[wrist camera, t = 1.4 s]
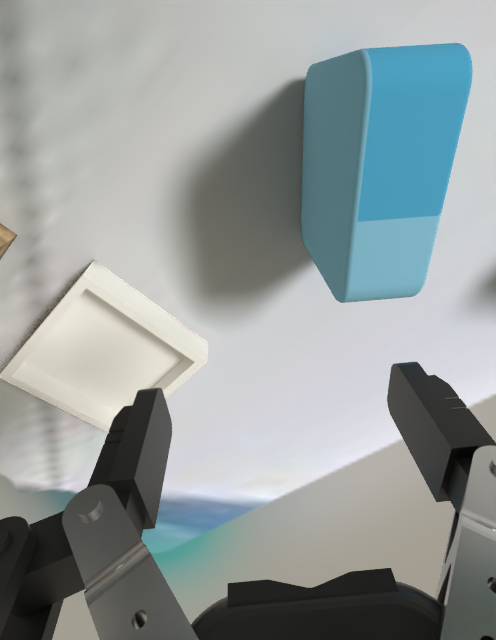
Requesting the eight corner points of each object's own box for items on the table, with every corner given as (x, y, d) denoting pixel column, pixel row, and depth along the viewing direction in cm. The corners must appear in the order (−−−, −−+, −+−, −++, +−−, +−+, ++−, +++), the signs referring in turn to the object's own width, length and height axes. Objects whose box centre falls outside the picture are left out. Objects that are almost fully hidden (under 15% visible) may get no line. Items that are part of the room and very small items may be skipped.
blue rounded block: (352, 236, 30) (421, 307, 20) (300, 240, 30) (342, 314, 20) (371, 61, 24) (485, 37, 14) (304, 66, 24) (369, 44, 13)
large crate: (14, 356, 34) (-3, 377, 32) (94, 259, 30) (82, 274, 27) (125, 416, 39) (119, 438, 37) (208, 342, 35) (207, 361, 32)
